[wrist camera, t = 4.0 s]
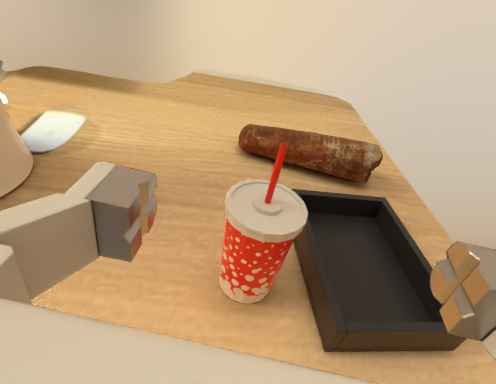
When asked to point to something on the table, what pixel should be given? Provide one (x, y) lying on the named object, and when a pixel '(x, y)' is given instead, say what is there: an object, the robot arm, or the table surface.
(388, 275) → the tray
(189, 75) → the table surface
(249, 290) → the beverage cup
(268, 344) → the table surface
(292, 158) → the bread
